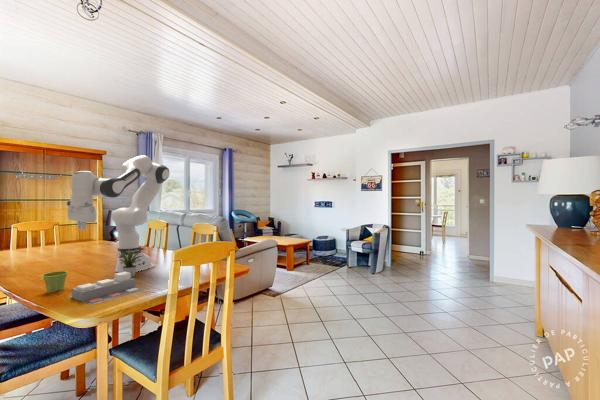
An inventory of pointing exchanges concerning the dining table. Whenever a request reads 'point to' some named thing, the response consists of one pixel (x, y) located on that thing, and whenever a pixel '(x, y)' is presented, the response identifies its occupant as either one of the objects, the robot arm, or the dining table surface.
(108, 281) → the key middle
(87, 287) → the key
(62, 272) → the plant pot
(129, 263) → the house plant
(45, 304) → the dining table surface
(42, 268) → the dining table surface
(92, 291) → the switch panel
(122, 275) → the key
